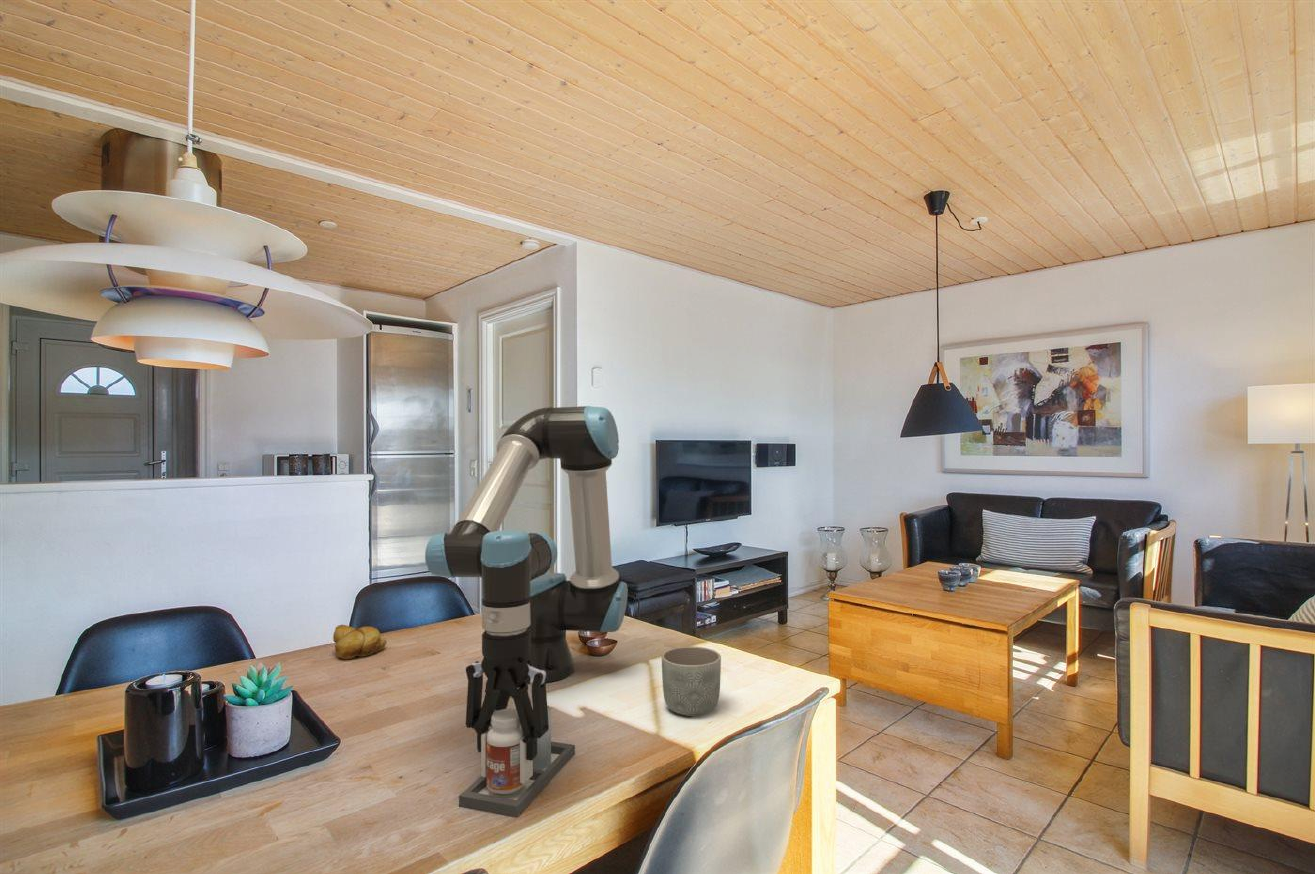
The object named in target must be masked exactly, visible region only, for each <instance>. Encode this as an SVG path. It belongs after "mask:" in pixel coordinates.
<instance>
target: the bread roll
mask: <svg viewBox="0 0 1315 874" xmlns="http://www.w3.org/2000/svg"><path fill="white" fill-rule="evenodd" d="M332 640H333V642H334V643H335V645H334V648H335V654H336V656H337V657H339V658H340V659H342V660H350V659H353V658H355V657H359V658H361V657H366V656H370V655H372V654H374V653H378V652H379V651H382V650H383V649H384V648H385V646H387V638H385V636H383V635H381V633H380V631H379V630H378V629H377V628H375V627H374V626H362V627H359V628H355V627H352V626H349V625H346V624H340V625H337V626H336V627H335V629H334V632H333V635H332Z"/></svg>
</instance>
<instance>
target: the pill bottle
mask: <svg viewBox="0 0 1315 874" xmlns="http://www.w3.org/2000/svg"><path fill="white" fill-rule="evenodd" d="M491 724H492V725H491V726H492V727H490V728H491V729H490V728H489V729H490V730H489V732H488V734H487V787H488V789H489V790H490V791H492V792H494V793H498V794H508V793H513V792H515V791H518V790H519V789H521V788H522V787H523V786H524V785H525V784H522V783H520V740H521V739H522V738H524V735H523V731H522V727H521V724H520V720H519V717H518V713H517V710H516V708H507V709H502V710H499V711H496V712H495V713H493V715H492V720H491Z"/></svg>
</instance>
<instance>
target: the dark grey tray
mask: <svg viewBox="0 0 1315 874" xmlns="http://www.w3.org/2000/svg"><path fill="white" fill-rule="evenodd" d="M575 754H576V745H575V744H570V743H566V742H565V743H564V742H557V741H551V764H550V765H549V766H548V767H547V768H545V769H543V770H539V769H533V775H532V776H531V777H530V778H529V779H528V780H527V782H526V783H525V785H524V786H523V787H522V788H521V789H519V790H518V791H515V792H513V793H508V794H498V793H494V792H492V791H490V790H489V789H488V787H487V776H486V777H482V776H481V775H480V777H478V778H477V779H476V780H475V781H473V783H472V784H471V785H469V786H468V787H467V788H466V789H465V790H464V791H463V792H461V794H459V795H458V807H460V808H464V809H465V808H466V809H471V810H475V811H481V812H486V813H490V814H491V813H492V814H497V815H503V816H508V817H512V818H519V816H520V815H521V814H523V812H524V811H525V809H527V808H528V806H529V805H530V804H531V803H532V802H533V801H534V800H535V799H536V797H537V796H538V795H539V794H541V792H542V791H543V790H544V788H546V787H547V785H548V784H549V783H550V782H551V780H553V779H554V778H555V777H556V775H557V774H558V773H559V772H560V771H561V770H562V769H563V768H564V767H565V766H566V764H568V763H569V761H570V760H571V759H573V756H574V755H575Z"/></svg>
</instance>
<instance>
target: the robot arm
mask: <svg viewBox="0 0 1315 874" xmlns="http://www.w3.org/2000/svg"><path fill="white" fill-rule="evenodd" d="M618 431H619V430H618V426H617V424H616V420H615V418H614V416H613V413H612V412H611V411H610V410H609V409H608V408H606V407H602V406H601V407H599V406H591V405H588V406H587V405H586V406H585V405H584V406H564V407H563V406H561V407H557V406H556V407H552V406H551V407H542V408H538V409H534V410H532V411H530V412H529V413H527V414H524V415H523V416H522V417H520V418H519V419H517V420H516V421H515V422H514V423H512V424H511V425H510V426H509V427H508V428H507V429H506V430H505V432H504V433H503V434H502V436H501V437H500V439H499V441H498V442H497V445H496V455H495V457H494V458H493V460H492V462H491V464H490V465H489V466H488V468H487V470H486V472H485V474H484V476H483V478H482V479H481V481H480V483H479V484H478V486H477V488H476V489H475V491H474V493H473V494H472V496H471V498H470V499H469V501H468V503H467V505H466V506H465V508H464V509H463V511H462V513H461V515H460V516H459V518H458V520H457V522H456V524H455V525H454V526H453V528H452V530H451V531H450V532H449V533H448V532H444V533H437V534H435V535H433V536H431V537H430V539H429V540H428V542H427V545H426V548H425V553H424V558H425V565H426V567H427V569H428V571H429V572H430V574H432V575H434V576H439V577H449V578H481V590H482V591H481V595H482V596H481V597H482V598H481V615H482V616H481V624H482V625H481V626H482V629H483V632H482V634H481V654H482V657H483V658H482V660H481V662H480V661H479V660H478V661H474V662H473V663H471V664H469V665H468V666H466V667H465V673H466V678H467V693H466V694H467V696H466V708H465V709H466V711H465V712H466V713H465V727H466V728H468V729H471V728H472V729H474V730H475V733H476V748H477V752H478V753H480V756H481V757H480V758H481V760H480V762H481V763H480V764H481V765H480V769H481V773H480V777H481V776H482V777H486V776H487V734H488V732H489V730H490V729H491V728H492V727H491V726H492V724H491V720H492V715H493V713H494V710H495V707H496V703H497V700H498V696H499V693H500V690H501V689H504V690H507V691H509V692H510V696H511V697H510V698H511V699H513V702H514V705H515V709H516V710H517V713H518V717H519V720H520V724H521V727H522V731H523V735H524V738H522V739H521V740H520V783H522V784H525V783H526V782H527V780H528V779H529V778H530V777H531V776H532V775H533V759H534V758H535V757H536V755H537V738H541V737H542V736H543V735H544V734H545V733H546V732H547V731H548V730H549V723H548V709H547V706H548V698H547V696H548V695H547V685H546V684H547V683H551V682H556V681H559V680H562V679H565V678H567V677H569V676H570V675H572V673H574V658H573V657H572V653H571V650H570V647H569V644H568V640H567V631H569V632H571V631H572V632H593V633H594V632H595V633H600V634H602V633H615V632H616V631H618V630H619V629H620V628H621V626H622V624H623V622H624V618H625V614H626V608H627V605H628V604H627V602H628V596H629V595H628V594H629V592H628V590H629V589H628V588H629V587H628V583H626V582H624V581H620V574H619V571H617V570H616V569H615V568H614V567H613V564H612V562H613V561H612V550H611V549H612V548H611V547H612V546H611V534H610V533H611V531H610V519H609V516H610V515H609V501H608V500H609V499H608V498H609V497H608V486H607V471H608V470H609V469H610V467H611V466H612V465H613V459H615V458H617V457H618V454H619V450H620V448H619V447H620V446H619V443H620V442H619V433H618ZM546 459H554V460H555V459H559V460H560V469H561V470H562V471H563V472H565V473H566V474H567V476H568V489H569V500H570V512H571V513H570V515H571V526H572V528H571V529H572V538H573V539H572V542H573V551H574V563H575V564H574V565H575V571H574V572H573V573H572V574H571V575H570V577H569V580H567V576H566V574H565V573H561V572H552V573H551V572H550V573H548V571H549V570H551V569H552V568H553V566H555V564H556V561H557V559H558V547H557V544H556V543H555V541H554V540H553V538H552V537H551V536H550V535H548V534H547V533H543V532H529V533H528V532H527V531H525V530H521V529H520V530H519V529H504V530H503V529H502V530H499V529H500V528H501V526H502V524H503V522H504V520H505V518H506V516H507V514H508V512H509V510H510V508H511V506H512V504H513V502H514V500H515V498H516V496H517V495H518V492H519V490H520V488H521V486H522V485H523V483H524V481H525V479H526V477H527V475H528V472H529V471H530V470H532V469H534V468H535V467H536V466H537V465H538V463H539V462H540V461H541V460H546ZM484 675H485V677H486V678H487V679H488V682H487V681H486V682H487V685H486V684H485V689H484V698H483V686H484V685H483V684H484ZM528 683H529V684H531V698H530V695H529V692H528V691H529V685H528ZM530 700H532V704H533V709H532V705H531V702H530ZM489 727H490V728H489Z"/></svg>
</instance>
